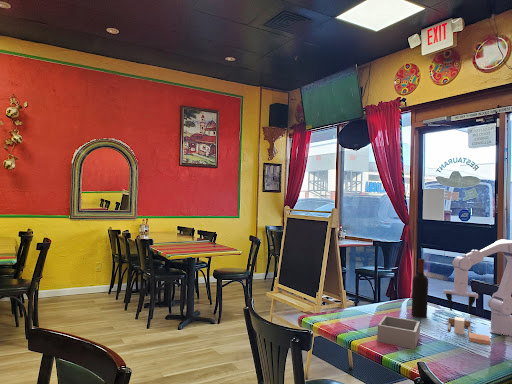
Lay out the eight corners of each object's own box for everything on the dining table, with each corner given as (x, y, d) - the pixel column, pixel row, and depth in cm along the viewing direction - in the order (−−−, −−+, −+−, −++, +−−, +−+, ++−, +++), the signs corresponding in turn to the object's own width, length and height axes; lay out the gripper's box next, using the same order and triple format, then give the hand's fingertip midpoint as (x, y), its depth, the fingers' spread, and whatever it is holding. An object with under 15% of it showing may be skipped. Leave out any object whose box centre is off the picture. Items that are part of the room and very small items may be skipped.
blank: (463, 330, 188) (464, 318, 188) (463, 334, 182) (464, 321, 183) (454, 329, 190) (454, 316, 190) (454, 332, 184) (454, 319, 184)
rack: (470, 327, 194) (470, 321, 194) (470, 335, 181) (471, 328, 181) (448, 323, 198) (448, 317, 198) (447, 331, 186) (447, 324, 186)
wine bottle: (412, 316, 207) (414, 259, 208) (410, 312, 215) (413, 257, 215) (427, 318, 205) (430, 260, 206) (426, 314, 212) (428, 258, 213)
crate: (419, 337, 175) (419, 321, 175) (415, 349, 160) (415, 331, 160) (384, 330, 182) (384, 315, 182) (377, 341, 167) (377, 324, 167)
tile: (489, 339, 177) (489, 335, 177) (490, 344, 170) (490, 341, 170) (468, 335, 181) (468, 332, 181) (469, 340, 174) (469, 337, 174)
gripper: (477, 283, 187) (476, 311, 187) (443, 279, 193) (442, 307, 193) (479, 285, 181) (477, 315, 180) (443, 281, 187) (442, 310, 187)
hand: (459, 311), depth 186 cm, fingers open, 7 cm apart
